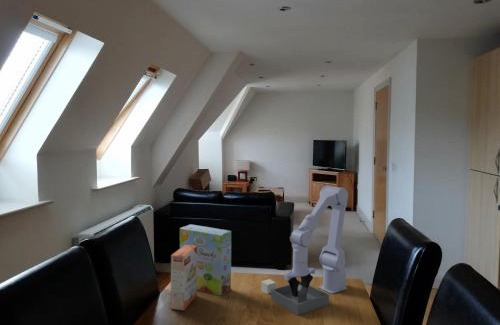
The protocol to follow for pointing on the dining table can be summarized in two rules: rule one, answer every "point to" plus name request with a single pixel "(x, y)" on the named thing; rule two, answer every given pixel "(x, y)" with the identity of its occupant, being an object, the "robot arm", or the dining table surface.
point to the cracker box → (183, 277)
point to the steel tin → (300, 295)
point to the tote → (313, 302)
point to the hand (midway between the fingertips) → (299, 294)
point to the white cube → (267, 286)
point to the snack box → (210, 257)
